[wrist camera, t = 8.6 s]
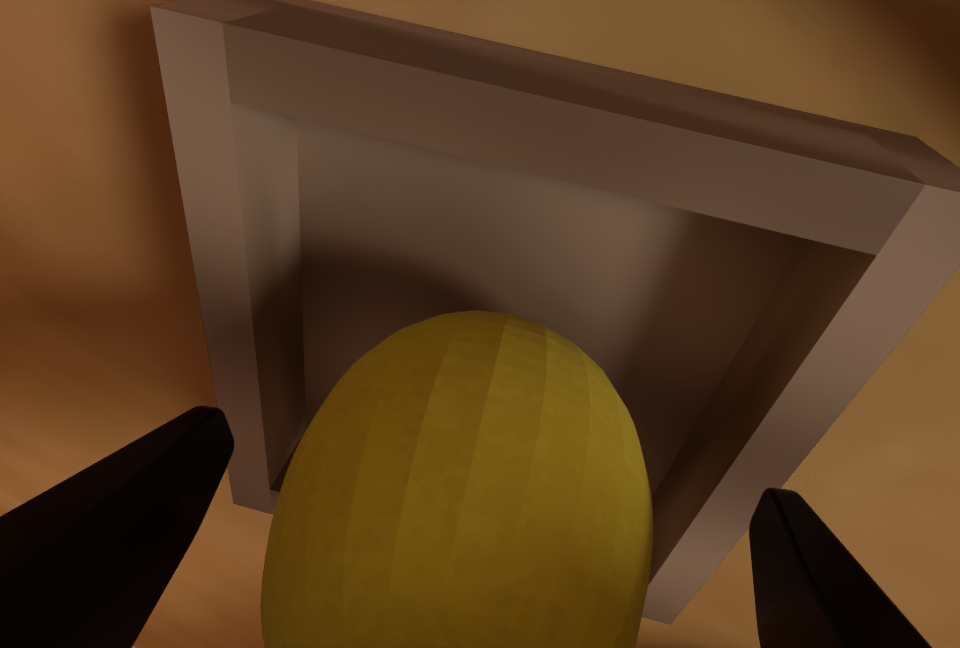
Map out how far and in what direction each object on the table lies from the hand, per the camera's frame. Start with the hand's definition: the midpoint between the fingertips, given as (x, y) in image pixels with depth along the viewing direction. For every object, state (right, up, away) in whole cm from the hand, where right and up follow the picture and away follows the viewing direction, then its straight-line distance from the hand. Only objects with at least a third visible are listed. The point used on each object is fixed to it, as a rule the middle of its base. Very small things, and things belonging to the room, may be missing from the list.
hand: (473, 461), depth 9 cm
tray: (+1, +2, +3) cm, 4 cm away
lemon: (+1, +2, +3) cm, 3 cm away
